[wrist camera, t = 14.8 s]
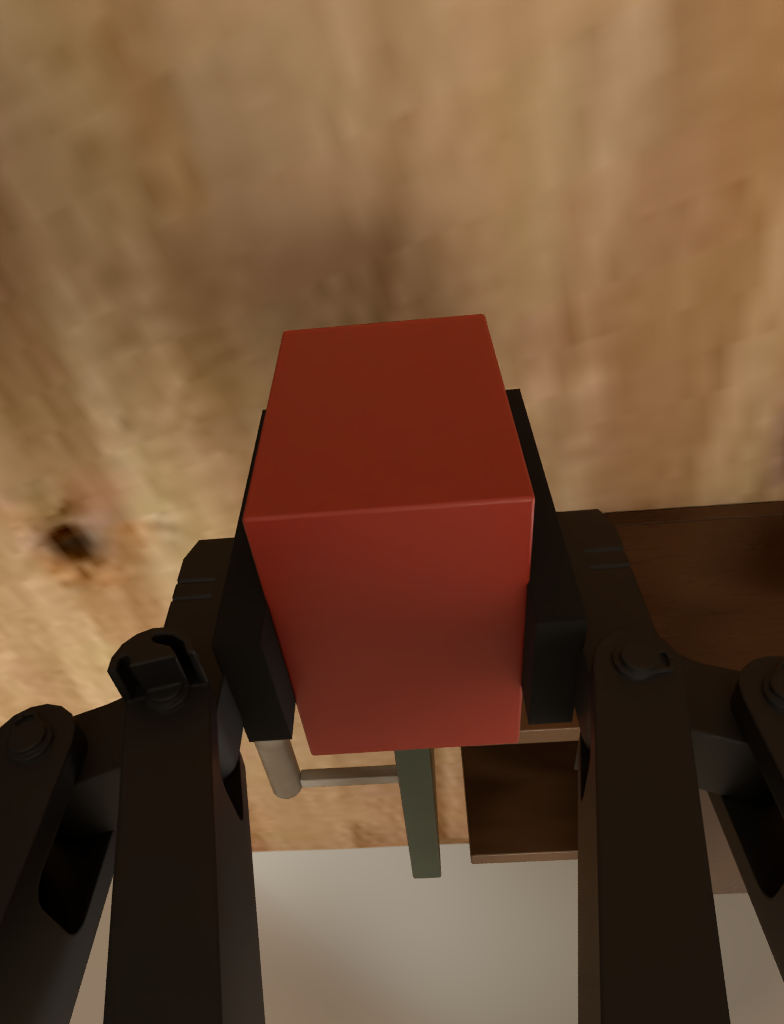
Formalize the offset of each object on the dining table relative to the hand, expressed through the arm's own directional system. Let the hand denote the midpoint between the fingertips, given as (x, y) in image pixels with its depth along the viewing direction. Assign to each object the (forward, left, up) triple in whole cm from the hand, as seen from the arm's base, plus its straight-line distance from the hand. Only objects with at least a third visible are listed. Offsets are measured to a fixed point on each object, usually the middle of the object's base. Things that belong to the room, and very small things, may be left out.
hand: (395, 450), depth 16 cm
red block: (0, 0, 0) cm, 0 cm away
